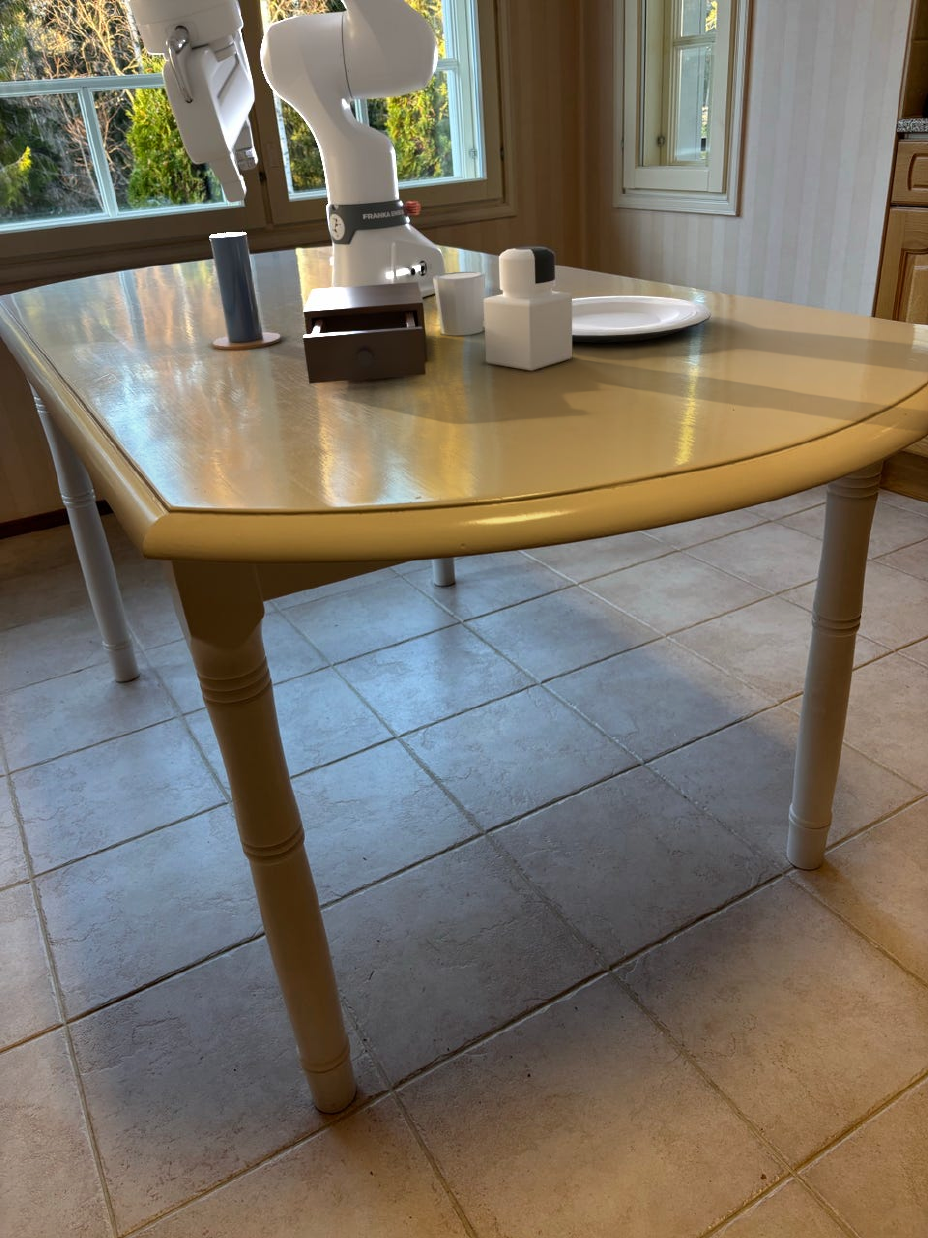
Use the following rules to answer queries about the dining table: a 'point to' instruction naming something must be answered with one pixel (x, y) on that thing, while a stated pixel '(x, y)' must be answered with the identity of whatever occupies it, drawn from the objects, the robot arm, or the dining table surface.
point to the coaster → (265, 341)
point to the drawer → (364, 347)
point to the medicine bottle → (528, 312)
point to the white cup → (460, 302)
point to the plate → (632, 318)
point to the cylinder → (236, 287)
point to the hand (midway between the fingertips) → (244, 182)
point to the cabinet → (366, 303)
